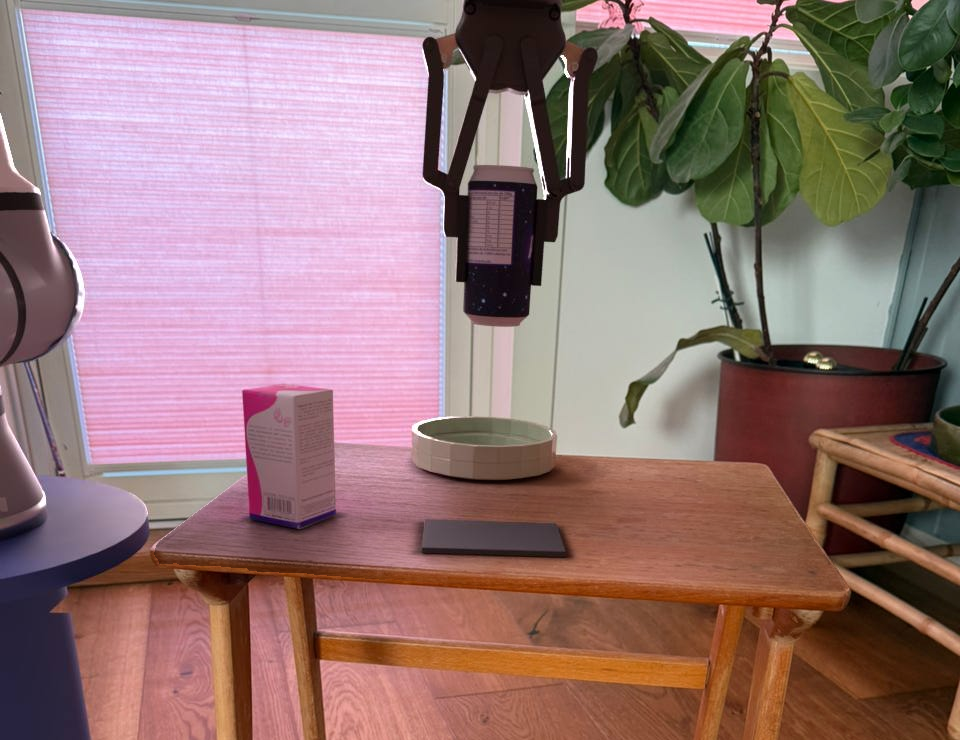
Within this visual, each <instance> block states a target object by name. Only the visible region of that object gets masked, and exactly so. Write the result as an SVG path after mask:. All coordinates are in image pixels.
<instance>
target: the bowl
mask: <svg viewBox="0 0 960 740" xmlns="http://www.w3.org/2000/svg"><path fill="white" fill-rule="evenodd" d="M557 445H558V434H557V432H556V430H554V429H552V428H550V427H548V426H547V425H544V424H539V423H536V422H534V421H528V420H521V419H517V418H508V417H507V418H506V417H498V416H497V417H496V416H478V415H477V416H475V415H473V416H469V415H467V416H446V417H437V418H431V419H426V420H421V421H419V422H417V423H415V424H414V425H412V429H411V462H412V463H413V464H414V465H415V466H416V467H417V468H420V469H423V470H426V471H428V472H431V473H435V474H439V475H443V476H447V477H452V478H458V479H463V480H464V479H465V480H474V481H475V480H476V481H509V480H518V479H524V478H530V477H537V476H541V475H544V474H546V473H549V472H551V471H552V470H553V469H554V468H555V467H556V458H557Z"/></svg>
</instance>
